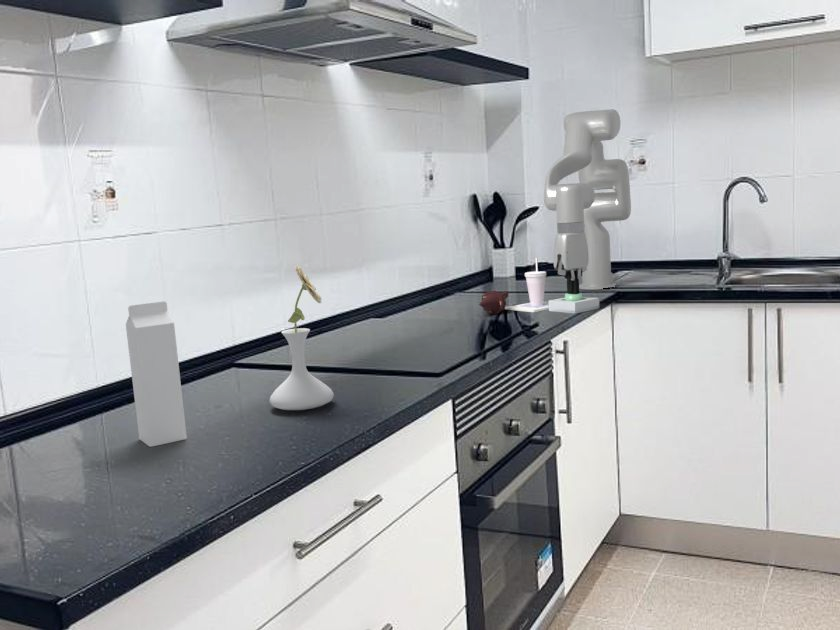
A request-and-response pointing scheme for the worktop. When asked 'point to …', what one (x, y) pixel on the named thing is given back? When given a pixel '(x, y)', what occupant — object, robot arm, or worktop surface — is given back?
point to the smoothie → (536, 286)
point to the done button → (573, 297)
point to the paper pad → (529, 307)
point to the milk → (155, 374)
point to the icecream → (494, 302)
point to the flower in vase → (300, 366)
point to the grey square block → (574, 305)
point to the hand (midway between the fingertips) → (573, 293)
